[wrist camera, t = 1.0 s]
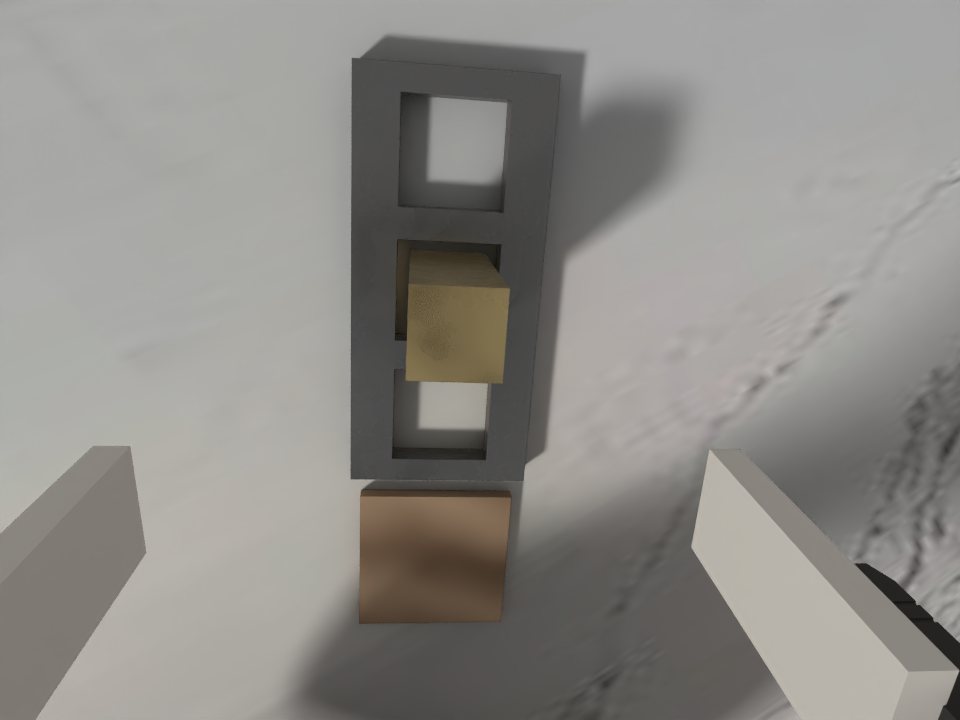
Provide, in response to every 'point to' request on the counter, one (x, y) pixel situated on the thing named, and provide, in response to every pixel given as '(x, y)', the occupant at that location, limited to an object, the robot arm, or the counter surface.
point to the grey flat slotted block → (387, 221)
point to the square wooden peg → (455, 318)
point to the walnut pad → (432, 555)
